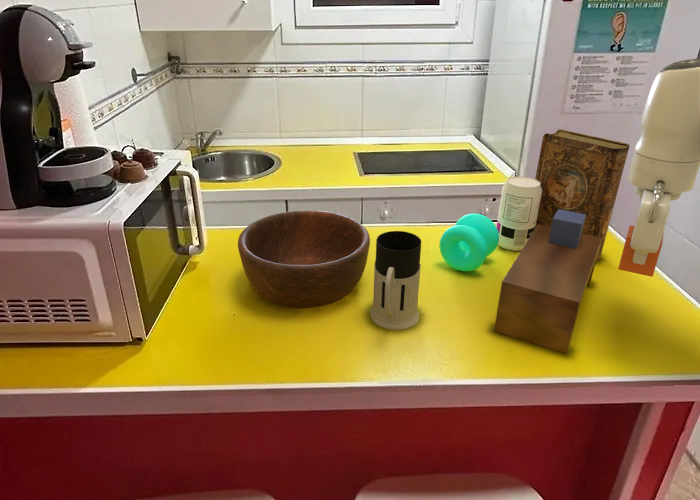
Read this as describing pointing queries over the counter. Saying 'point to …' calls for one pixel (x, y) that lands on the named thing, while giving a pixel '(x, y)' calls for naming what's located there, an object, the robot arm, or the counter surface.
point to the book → (580, 179)
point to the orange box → (628, 254)
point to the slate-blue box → (567, 228)
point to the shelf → (546, 290)
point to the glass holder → (396, 280)
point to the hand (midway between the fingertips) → (640, 253)
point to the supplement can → (518, 211)
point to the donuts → (469, 242)
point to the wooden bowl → (304, 257)
